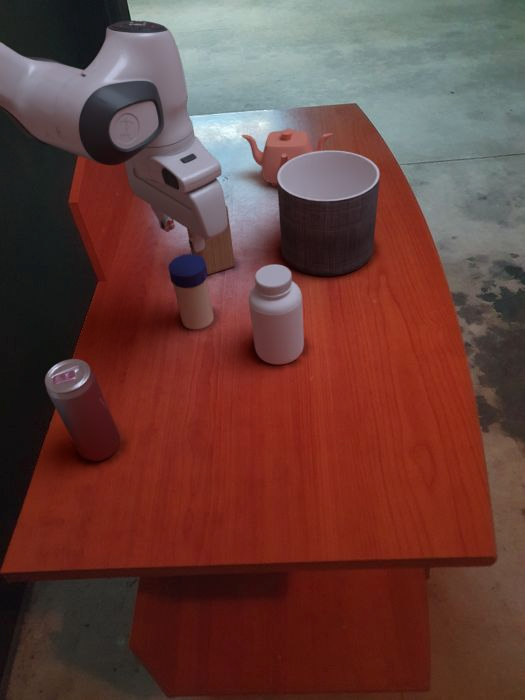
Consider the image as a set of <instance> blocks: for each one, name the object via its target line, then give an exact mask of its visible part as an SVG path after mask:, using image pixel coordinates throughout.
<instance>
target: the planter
mask: <svg viewBox="0 0 525 700" xmlns="http://www.w3.org/2000/svg"><path fill="white" fill-rule="evenodd" d="M380 176H381V173H380V169H379V167H378V166H377V165H376V163H374V162H373V160H371V159H370V158H367V157H365V156H364V155H362V154H357V153H354V152H351V151H345V150H344V151H343V150H324V151H317V152H311V153H306V154H303V155H300V156H297V157H295V158H293V159H291V160H289V161H288V162H286V163H285V164H284V165H283V166H282V167H281V168H280V169H279V171H278V174H277V185H278V186H277V199H278V201H277V202H278V215H279V228H280V229H279V230H280V231H279V232H280V247H281V248H280V252H281V256H282V257H283V258H282V259H284V261H285V263H287V264H288V265H289V266H290V267H292V268H293V269H295V270H297V271H299V272H301V273H304V274H308V275H312V276H320V277H334V276H335V277H336V276H341V275H346V274H350V273H352V272H354V271H356V270H359V269H361V268H362V267H363V266H365V265H366V264H367V263H368V262H369V261H370V260H371V258H372V256H373V255H374V249H375V232H376V224H377V223H376V222H377V211H378V202H379V201H378V200H379V191H380V189H379V187H380V178H381V177H380Z"/></svg>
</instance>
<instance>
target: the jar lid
mask: <svg viewBox="0 0 525 700" xmlns="http://www.w3.org/2000/svg"><path fill="white" fill-rule="evenodd" d="M168 272H169V277H170V282H171V283H172V285H173V284H174V285H176V286H178V287H181V288H191V287H195V286H198V285H200V284H201V283H203V282H204V281H205V280H206V278H207V279H208V276H209V275H208V274H207V268H206V263H205V260H204V259H203V258H202V257H201V256H199V255H195V254H192V253H187V254H182V255H178V256H176V257H174V258H173V259H172V260H171V261H170V262H169V265H168ZM174 285H173V286H174Z"/></svg>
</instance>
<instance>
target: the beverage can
mask: <svg viewBox="0 0 525 700" xmlns="http://www.w3.org/2000/svg"><path fill="white" fill-rule="evenodd" d="M44 384H45V389H46V393H47V394H48V396H49V398H50V400H51V402H52V404H53V406H54V407H55V409H56V411H57V413H58V415H59V417H60V419H61V421H62V423H63V425H64V427H65V428H66V431H67V433H68V435H69V436H70V438H71V440H72V442H73V444H74V446H75V448H76V449H77V452H78V453H79V455H80V456H81V457H82V458H83V459H85V460H88V461H92V462H99V461H103V460H106V459H108V458H111V456H112V455H114V454H115V453H116V452H117V450H118V448H119V446H120V443H121V434H120V432H119V429H118V428H117V425H116V423H115V420H114V418H113V416H112V413H111V410H110V408H109V405H108V404H107V402H106V399H105V396H104V394H103V392H102V389H101V387H100V384H99V382H98V380H97V378H96V375H95V373H94V370H93V368H91V367H90V365H89V363H87V362H86V361H85V360H82V359H80V358H79V359H78V358H69V359H65V360H62V361H60V362H58V363H56V364H55V365H53V366H52V367H51V368H50V369H49V370H48V371H47V372H46V374H45V377H44Z"/></svg>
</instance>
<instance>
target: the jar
mask: <svg viewBox="0 0 525 700" xmlns="http://www.w3.org/2000/svg"><path fill="white" fill-rule="evenodd" d="M172 285H173V290H174V294H175V298H176V302H177V306H178V311H179V316H180V319H181V323H182V325H183V326H184V327H185V328H188V329H190V330H202V329H204V328H206V327H208V326H209V325H211V324H212V322H213V321H214V318H215V317H214V309H213V303H212V297H211V292H210V286H209V281H208V277H207V278H206V280H205V281H204V282H203V283H201V284H200V285H198V286H195V287H191V288H181V287H178V286H176V285H174V284H173V283H172Z"/></svg>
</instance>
